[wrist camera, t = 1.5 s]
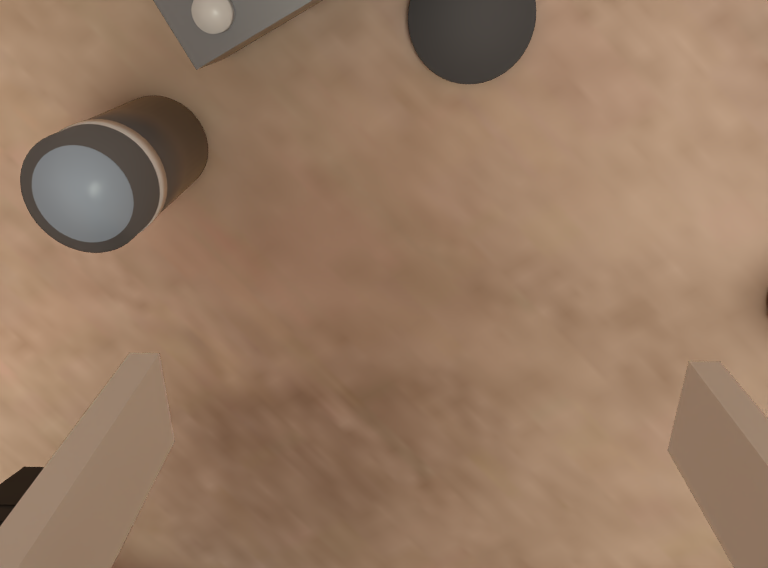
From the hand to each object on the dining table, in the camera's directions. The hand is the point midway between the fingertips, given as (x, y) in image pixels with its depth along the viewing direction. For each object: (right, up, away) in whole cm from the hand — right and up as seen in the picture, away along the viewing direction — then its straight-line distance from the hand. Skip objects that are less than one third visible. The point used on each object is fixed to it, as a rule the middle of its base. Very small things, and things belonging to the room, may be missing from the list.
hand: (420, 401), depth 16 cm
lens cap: (+3, +16, +15) cm, 22 cm away
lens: (-13, +10, +18) cm, 24 cm away
